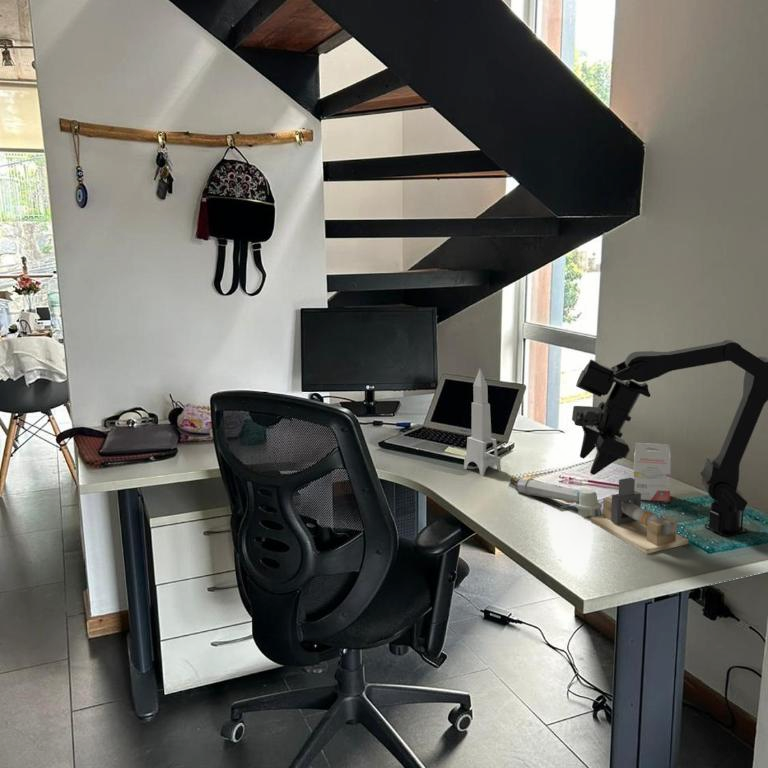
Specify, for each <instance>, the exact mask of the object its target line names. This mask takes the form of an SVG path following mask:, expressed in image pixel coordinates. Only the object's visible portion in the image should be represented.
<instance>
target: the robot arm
mask: <svg viewBox="0 0 768 768" xmlns="http://www.w3.org/2000/svg"><path fill="white" fill-rule="evenodd" d="M724 362H731V363H733V364H735V365H736V366H738V367H739V368H741V369H743V370H744V371H745V372H744V377H743V388H742V390H743V391H742V398H741V400H740V402H739V404H738V407H737V410H736V412H735V415H734V417H733V419H732V422H731V425H730V426H729V430H728V431H727V435H726V437H725V439H724V441H723V444H722V447H721V449H720V452H719V454H718V455H717V456H716V457H715V458H714V459H713V460H712V459H710V458H706V460H705V464H704V468H703V469H702V471H701V472H700V473H699V474H700V476H701V483H702V485H703V487H704V489H705V490H706V492H707V493H708V494H709V497H710V498H711V499H712V500H713V502H711V503H710V505H711V506H710V510H709V523H706V524H704V527H705V526H707V525H708V526H707V527H709V528H710V529H712V530H714V531H713V532H715V531H716V532H715V533H717V532H718V533H717V534H719V533H720V534H719V535H721V536H723V535H724V537H725V536H729V537H731V536H730V535H733V536H736V535H735V534H737V535H740V534H744V533H748V532H749V529H748V528H746V527H744V512H745V510H746V508H747V505H748V501H747V500H746V498H745V497H744V496H743V494H742V493H741V492H740V491H739V489H738V487H739V486H738V485H739V482H740V464H741V462H742V459H743V457H744V454H745V452H746V449H747V447H748V445H749V443H750V440H751V437H752V435H753V433H754V430H755V428H756V425H757V423H758V421H759V418H760V415H761V413H762V411H763V409H764V406H765V404H766V403H767V402H768V357H765V356H756V355H754V354H753V353H751V352H750V351H749V350H747V349H745V348H744V347H742V345H741V344H739V343H738V342H736V341H734V340H732V339H726V340H723V341H719V342H715V343H709V344H704V345H698V346H697V345H696V346H693V347H688V348H681V349H676V350H670V351H655V350H654V351H653V350H649V351H647V350H645V351H640V350H639V351H634V352H631V353H630V354H628V356H627V357H626V358H625V360H624V361H622V362H620V363H617V364H616V365H614V366H612V367H608V366H605V365H603V364H600V363H599V362H597V361H596V360H594V359H589V361H588V363H587V364H586V365H585V367H584V368H583V369H582V370H581V372H580V374H579V376H578V379H577V382H576V385H575V387H577V388H578V389H581V390H582V391H585V392H588V393H590V394H592V395H594V396H596V397H599V398H601V397H602V396H604V397H605V396H607V398H606V401H605V402H604V401H601V402H600V403H599V404H598V406H591V405H589V406H588V405H587V406H586V405H573V408H572V417H571V420H572V421H573V422H574V425H575V426H577V427H578V426H579V427H581V429H582V431H583V439H582V445H581V449H580V453H579V457H580V458H581V459H585V458H586V457H587V456H589V455H590V453H592V451H593V450H595V449H596V454H595V457H594V460H593V462H592V465H591V467H590V471H589V473H590V475H593V476H594V475H597V474H598V473H599V472H601V471H602V470H604V469H605V468H606V467H609V465H611V464H613V463H614V462H616V461H618V460H622V459H626V458H627V456H629V452H630V451H631V450H630V447H629V444H628V443H627V442H626V441H625V439H623V438H622V436H623V433H622V428H623V427H624V425H625V423H626V422H630V421H631V420H632V416H630V414H631V412H632V411H633V409H634V407H635V405H636V403H637V401H638V399H639V397H640V395H642V396H645V397H647V398H650V397H651V395H652V394H651V393H650V390H649V385H648V384H647V382H648V381H650V380H653V379H657V378H660V377H661V376H664V375H665V374H668V373H670V372H673V371H678V370H683V369H689V368H695V367H700V366H701V367H702V366H706V365H712V364H717V363H724ZM613 384H614V386H613ZM710 529H709V530H710ZM712 530H711V531H712Z"/></svg>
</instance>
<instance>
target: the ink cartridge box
mask: <svg viewBox="0 0 768 768" xmlns="http://www.w3.org/2000/svg"><path fill="white" fill-rule="evenodd" d="M651 448H653V449H657V450H649V449H651ZM670 449H671V446H670V444H661V443H646V442H645V443H644V442H635V444H634V454H633V455H634V456H633V479H635V487H634V491H637V492H639V493H641V501H653V502H654V501H655V502H666V503H669V502H670V499H671V498H670V494H671V493H670V492H671V451H670Z"/></svg>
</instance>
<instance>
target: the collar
mask: <svg viewBox="0 0 768 768" xmlns="http://www.w3.org/2000/svg"><path fill="white" fill-rule="evenodd" d="M634 487H635V479H634V477H633V478H632V477H626V478H621V479H618V493H617V494H615V495H612V520H611V522H613V523H615V524H617V525H618V524H623V523H627V522H632V521H637V520H635V519H633V518H631V517H629V516H627V515H625V514H622V502H625V501H629V502H631V503H633V504H635V505H637V506H639V507H641V508H642V500H641V493H639V492H637V491H634Z"/></svg>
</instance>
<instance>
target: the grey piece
mask: <svg viewBox="0 0 768 768" xmlns="http://www.w3.org/2000/svg"><path fill="white" fill-rule="evenodd" d="M514 485H515V491H517V492H518V493H521V494H523V495H526V496H529V497H530V496H535V497H541V498H547V499H553V500H560V501H565V502H572V503H575V508H577V512H578V515H579V516H581V518H588V517H591V518H592V517H597V516H602V511H601V509H603V504H602V503H603V502H600V501H599V500H598V494H597V492H596V491H595V490H593V489H582V490H579V489H575V488H571V487H566V486H561V485H558V484H553V483H549V482H544V481H540V480H537V479H534V478H533V477H530V478H523V477H520V478H518V479H517V481H516V482H515V484H514Z"/></svg>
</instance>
